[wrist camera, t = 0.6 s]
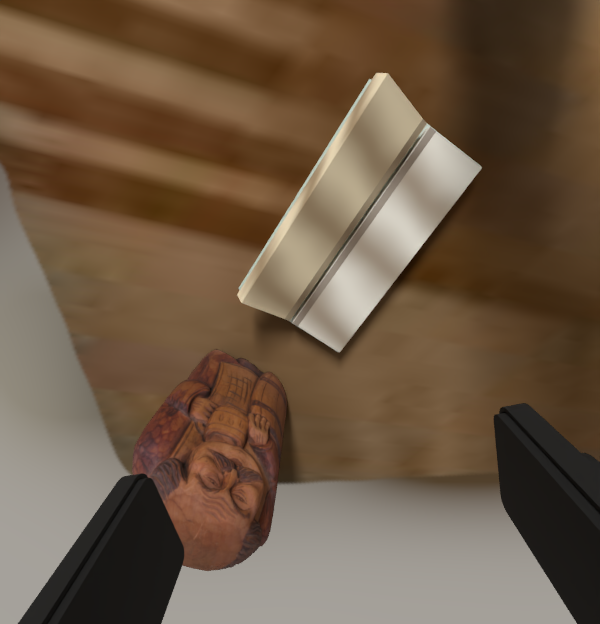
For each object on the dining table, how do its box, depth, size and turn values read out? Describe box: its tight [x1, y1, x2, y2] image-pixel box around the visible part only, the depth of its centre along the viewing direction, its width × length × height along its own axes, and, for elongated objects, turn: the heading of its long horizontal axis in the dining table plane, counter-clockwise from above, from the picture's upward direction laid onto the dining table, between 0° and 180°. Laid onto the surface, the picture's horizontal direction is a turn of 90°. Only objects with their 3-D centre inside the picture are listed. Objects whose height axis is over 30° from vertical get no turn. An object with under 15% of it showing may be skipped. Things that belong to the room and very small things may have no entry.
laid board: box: [292, 127, 482, 353], centre depth 31 cm, size 20×6×1 cm, turn 146°
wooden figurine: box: [132, 349, 287, 571], centre depth 28 cm, size 12×6×18 cm, turn 58°
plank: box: [237, 73, 427, 321], centre depth 28 cm, size 20×6×1 cm
